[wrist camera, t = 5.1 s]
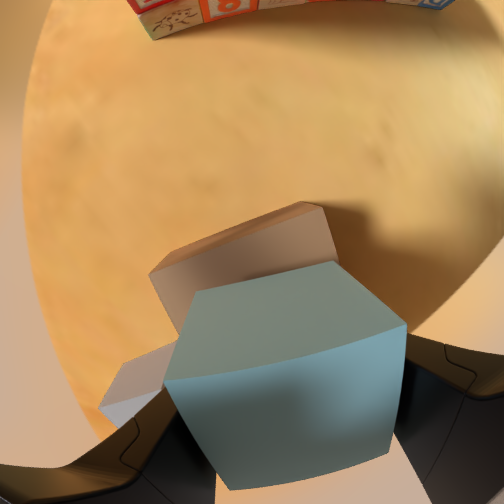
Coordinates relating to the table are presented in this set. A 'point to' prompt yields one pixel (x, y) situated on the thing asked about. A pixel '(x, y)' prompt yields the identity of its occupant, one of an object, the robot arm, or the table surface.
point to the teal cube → (288, 375)
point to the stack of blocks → (219, 11)
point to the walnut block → (243, 255)
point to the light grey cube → (136, 385)
